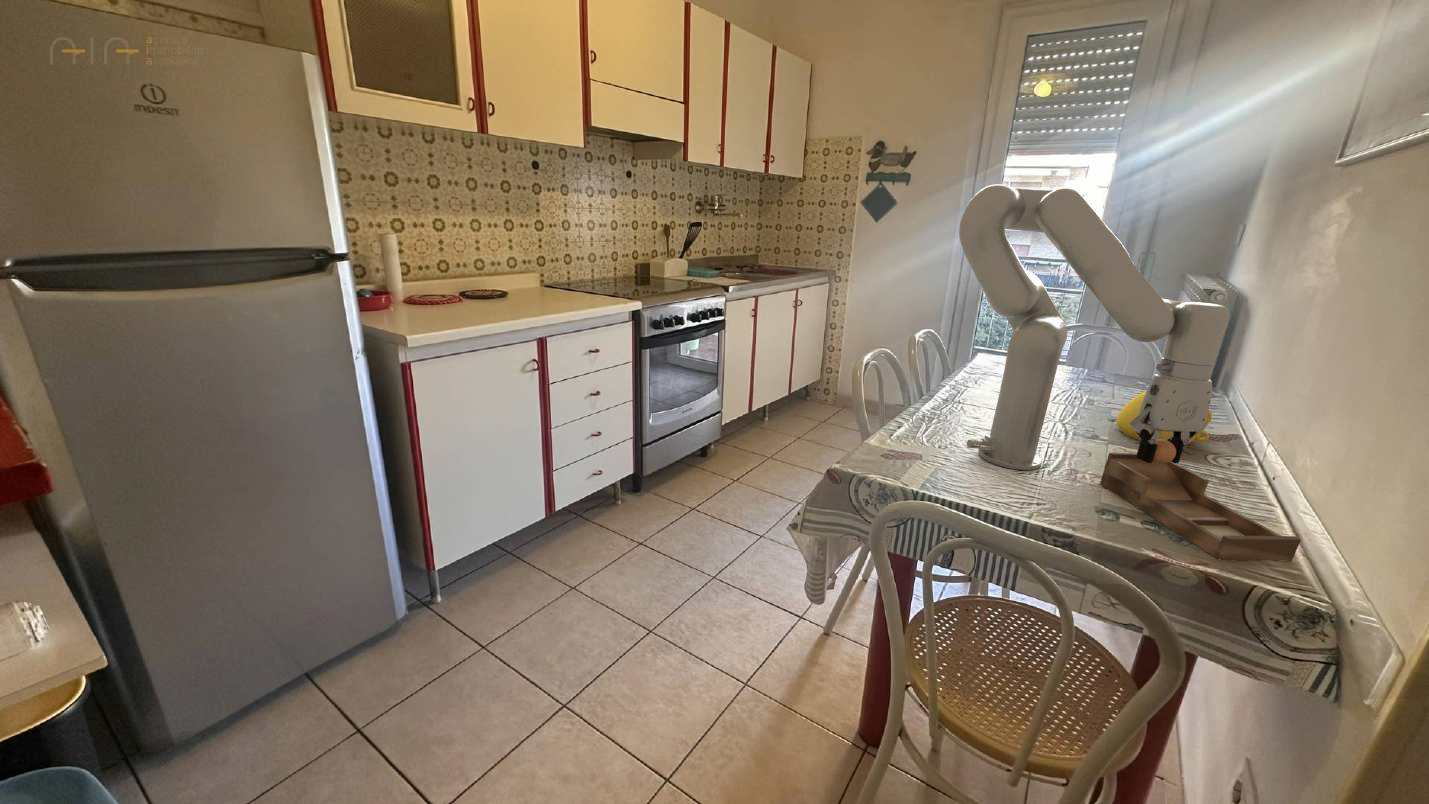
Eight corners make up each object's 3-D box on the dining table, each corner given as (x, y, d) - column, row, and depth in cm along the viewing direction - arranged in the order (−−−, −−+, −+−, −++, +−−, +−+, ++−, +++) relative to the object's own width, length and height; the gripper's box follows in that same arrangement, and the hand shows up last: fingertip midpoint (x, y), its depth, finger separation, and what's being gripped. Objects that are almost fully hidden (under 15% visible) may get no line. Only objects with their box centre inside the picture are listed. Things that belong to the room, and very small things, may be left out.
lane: (1099, 483, 115) (1109, 452, 113) (1156, 484, 116) (1167, 453, 114) (1220, 560, 90) (1235, 522, 87) (1291, 560, 91) (1308, 523, 88)
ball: (1155, 467, 107) (1162, 444, 105) (1135, 457, 111) (1142, 435, 110) (1178, 467, 107) (1186, 444, 106) (1158, 457, 112) (1164, 435, 110)
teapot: (1120, 420, 155) (1133, 376, 151) (1207, 441, 143) (1224, 393, 139) (1105, 437, 141) (1119, 389, 137) (1200, 462, 129) (1219, 410, 125)
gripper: (1158, 374, 99) (1131, 468, 105) (1246, 376, 101) (1214, 468, 106) (1126, 364, 107) (1102, 452, 112) (1208, 366, 108) (1180, 453, 114)
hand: (1157, 459), depth 109 cm, fingers closed on ball, 4 cm apart
